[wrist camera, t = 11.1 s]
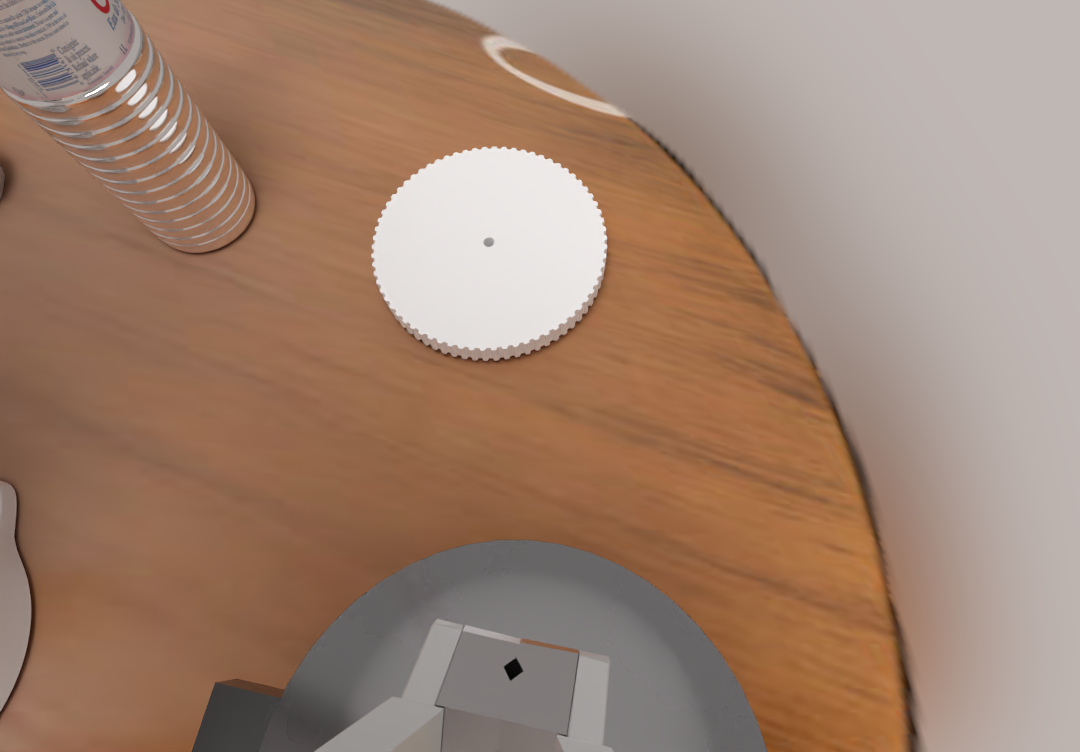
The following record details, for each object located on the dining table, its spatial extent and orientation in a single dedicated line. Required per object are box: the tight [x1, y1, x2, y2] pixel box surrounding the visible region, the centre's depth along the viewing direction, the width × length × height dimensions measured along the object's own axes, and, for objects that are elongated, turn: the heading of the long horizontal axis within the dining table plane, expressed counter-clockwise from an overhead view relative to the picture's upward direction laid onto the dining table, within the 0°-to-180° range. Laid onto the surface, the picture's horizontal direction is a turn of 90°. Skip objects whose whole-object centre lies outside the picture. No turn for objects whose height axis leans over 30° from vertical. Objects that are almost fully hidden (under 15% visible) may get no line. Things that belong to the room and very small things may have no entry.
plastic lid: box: [372, 147, 607, 361], centre depth 40 cm, size 14×14×2 cm
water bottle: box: [0, 0, 255, 253], centre depth 31 cm, size 7×7×25 cm
